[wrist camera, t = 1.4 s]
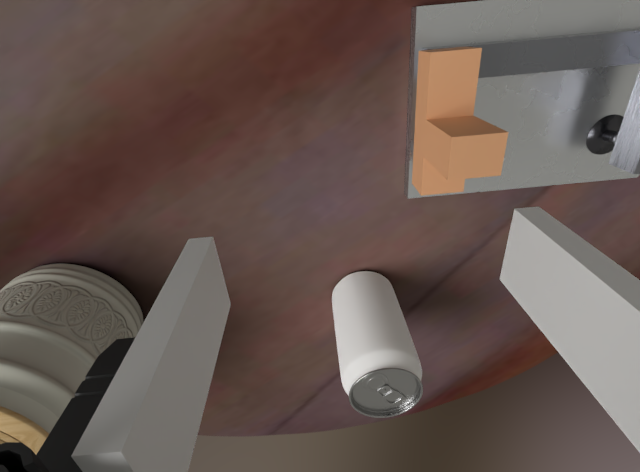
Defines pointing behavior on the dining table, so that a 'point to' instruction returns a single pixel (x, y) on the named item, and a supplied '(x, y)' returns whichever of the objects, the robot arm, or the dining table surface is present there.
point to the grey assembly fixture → (544, 86)
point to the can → (375, 347)
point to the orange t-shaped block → (452, 124)
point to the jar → (55, 342)
